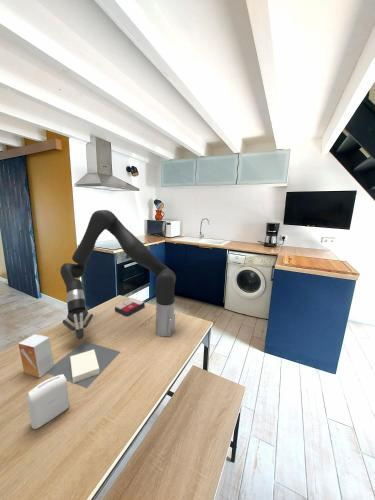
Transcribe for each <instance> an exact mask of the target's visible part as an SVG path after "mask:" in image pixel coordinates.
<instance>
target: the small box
mask: <svg viewBox="0 0 375 500" xmlns="http://www.w3.org/2000/svg"><path fill="white" fill-rule="evenodd" d="M17 345H18V349H19V353H20V354H19V355H20V358H21V363H22V368H23V373H24V374H27V375H29V376H32V377H36V378H40V379H41V377H43V376H44V375H45V374H47V373H46V372H48V371H49V370H50V369H52V368H53V367H54V364H55V362H54V357H53V350H52V344H51V341H50V336H45V335H42V334H41V335H40V334H37V333H36V334H35V333H34V334H32V335H30V336H29V337H27V338H25V339H24V340H22V341H19V342H18V344H17Z"/></svg>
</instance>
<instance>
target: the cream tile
mask: <svg viewBox="0 0 375 500" xmlns="http://www.w3.org/2000/svg"><path fill="white" fill-rule="evenodd" d="M70 360H71V369H72V378H73V383H72V384H74V383H75V382H78V381H81V380H83V379H86V378H89V377H92V376H94V375H97V374H99V365H98V362H97V358H96V355H95V351H94V350H90V351H87V352H84V353H80V354H77V355H74V356H70Z"/></svg>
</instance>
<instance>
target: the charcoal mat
mask: <svg viewBox="0 0 375 500" xmlns="http://www.w3.org/2000/svg"><path fill="white" fill-rule="evenodd" d="M90 350H94V351H95V355H96V358H97V362H98V365H99V374H97V375H94V376H92V377H89V378H86V379H83V380H81V381H78V382H75V383H73V378H72V369H71V360H70V356H74V355H77V354H80V353H84V352H87V351H90ZM120 353H121V351H119V350H116V349H113V348H110V347H106V346H102V345H99V344H95V343H93V342H89V341H86V340H84V341H83V342H81V343H80V344H79V345H77V346H76V347H75V348H74V349H72V350H71V351H70V352H68V353H67V354H66V355H65V356H63V357H62V358H61V359H59V360H58V361H57V362H56V363H54V367H53V368H52V369H50V370H49V371H48V372H46V373H45V374H48V375H50V376H53V377H55V376H58V375H62V374H64V376H65V378H66V379H67V382H69V383H71V384H75V385H77V386H79V387H83V388H85V389H88V387H89V386H90V385H91V384H93V382H94V381H95V380H96V379H97V378H98V377H99V376H100V375H101V374H102V373H103V372H104V370H106V368H108V367H109V365H110V364H111V363H112V362H113V361H114V360H115V359H116V357H118V356H119V354H120Z"/></svg>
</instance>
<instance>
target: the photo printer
mask: <svg viewBox="0 0 375 500" xmlns="http://www.w3.org/2000/svg"><path fill="white" fill-rule="evenodd" d="M26 399H27V408H28V414H29V420H30V426H31V428H32V429H34V430H38V429H39V428H40V427H42V426H44V425H45V424H47V423H48V422H50V421H52V420H53V419H55V418H56V417H57V416H60V414H62V413H63V412H65V411H66V410H67V409H69V407H70V399H69V389H68V381H67V379H66V378H65V376H64V374H62V375H58V376H53V377H50V378H49V379H46V380H44V381H42V382H41V383H39V384H37V385H36V386H35V387H33V388H32V389H31V390H30V391H29V392H28V393H27V398H26Z"/></svg>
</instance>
